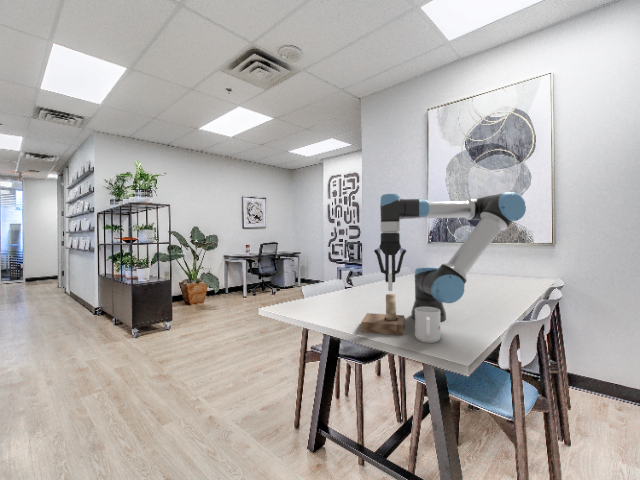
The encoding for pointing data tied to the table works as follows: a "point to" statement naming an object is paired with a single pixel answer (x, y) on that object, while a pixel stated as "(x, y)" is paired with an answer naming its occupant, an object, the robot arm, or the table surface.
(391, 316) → the peg
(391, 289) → the robot arm
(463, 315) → the table surface
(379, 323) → the board
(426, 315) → the mug
